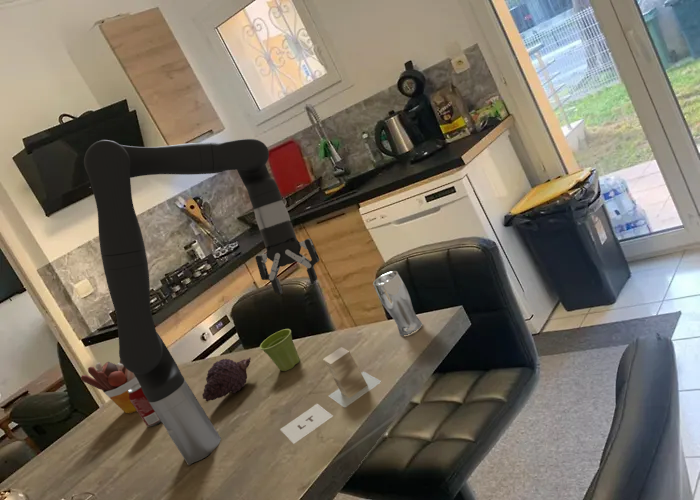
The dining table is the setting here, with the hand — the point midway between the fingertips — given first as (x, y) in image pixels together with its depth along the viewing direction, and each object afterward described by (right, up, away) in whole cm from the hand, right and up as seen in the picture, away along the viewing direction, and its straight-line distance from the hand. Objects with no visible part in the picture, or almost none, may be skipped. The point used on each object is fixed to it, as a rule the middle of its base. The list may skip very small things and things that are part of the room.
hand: (297, 288), depth 156 cm
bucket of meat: (-54, -40, +54) cm, 86 cm away
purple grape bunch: (-19, -30, +25) cm, 43 cm away
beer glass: (+28, -11, +7) cm, 31 cm away
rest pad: (+14, -22, -9) cm, 27 cm away
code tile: (+3, -29, -13) cm, 31 cm away
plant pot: (-4, -22, +24) cm, 33 cm away
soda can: (-42, -40, +33) cm, 67 cm away
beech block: (+13, -22, -9) cm, 27 cm away
